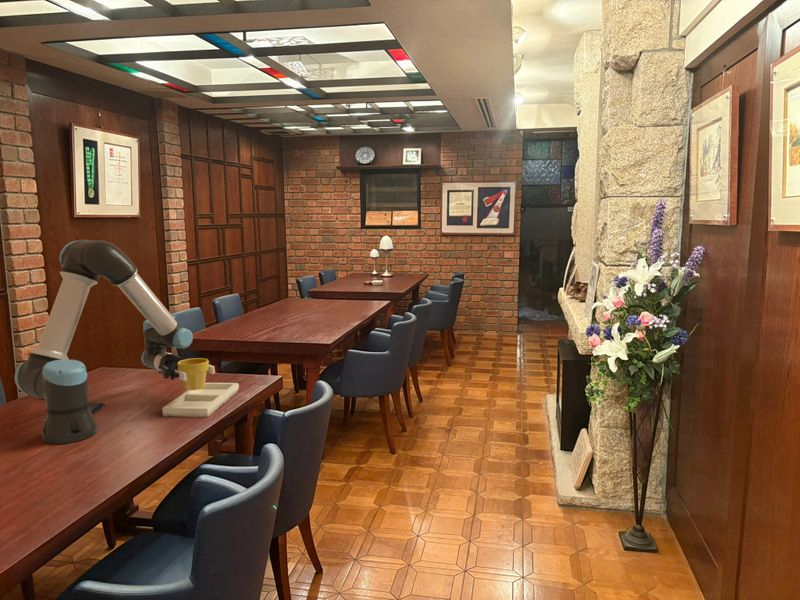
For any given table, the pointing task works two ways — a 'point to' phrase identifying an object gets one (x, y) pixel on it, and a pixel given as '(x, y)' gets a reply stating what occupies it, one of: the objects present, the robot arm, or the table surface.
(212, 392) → the divided tray
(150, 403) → the table surface
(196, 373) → the plant pot
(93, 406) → the wallet
